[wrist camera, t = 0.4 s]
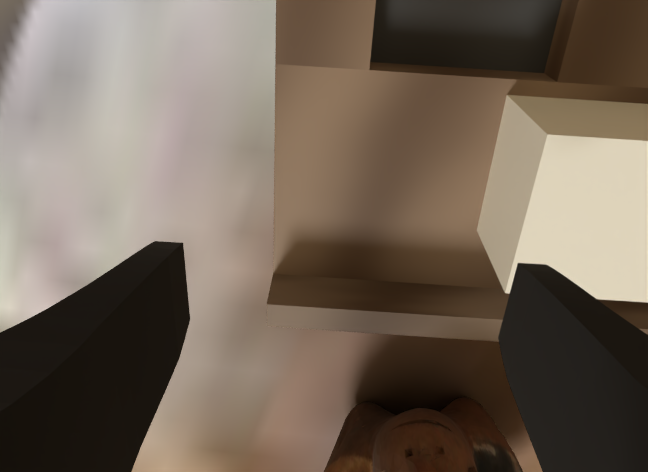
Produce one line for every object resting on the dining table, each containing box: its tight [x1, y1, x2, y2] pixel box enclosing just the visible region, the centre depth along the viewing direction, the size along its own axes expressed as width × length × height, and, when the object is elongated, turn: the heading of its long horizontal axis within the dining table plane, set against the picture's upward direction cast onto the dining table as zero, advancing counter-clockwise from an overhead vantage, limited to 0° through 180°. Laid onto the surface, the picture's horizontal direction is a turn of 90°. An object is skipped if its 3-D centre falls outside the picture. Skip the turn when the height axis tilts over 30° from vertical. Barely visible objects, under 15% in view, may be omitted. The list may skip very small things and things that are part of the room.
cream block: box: [477, 95, 648, 303], centre depth 17 cm, size 5×5×4 cm
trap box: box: [267, 0, 648, 342], centre depth 18 cm, size 24×13×4 cm, turn 87°
